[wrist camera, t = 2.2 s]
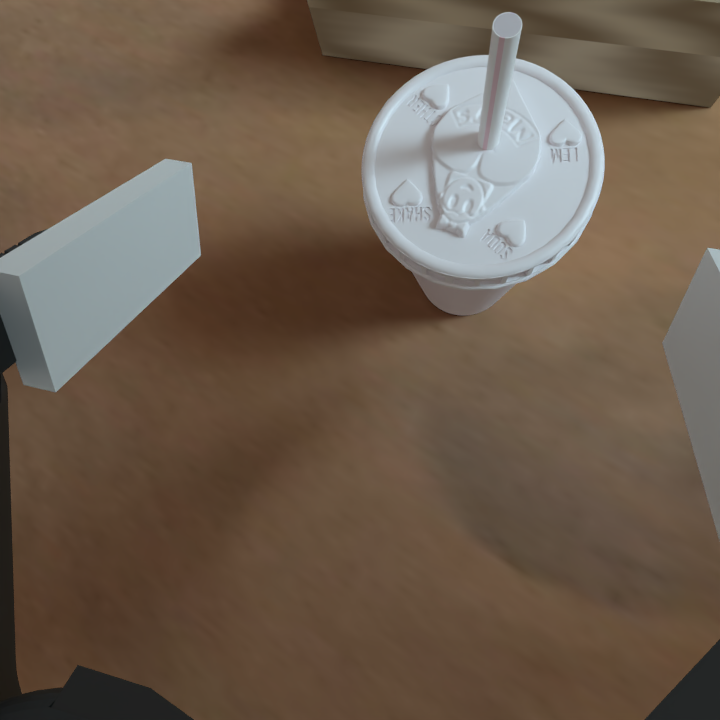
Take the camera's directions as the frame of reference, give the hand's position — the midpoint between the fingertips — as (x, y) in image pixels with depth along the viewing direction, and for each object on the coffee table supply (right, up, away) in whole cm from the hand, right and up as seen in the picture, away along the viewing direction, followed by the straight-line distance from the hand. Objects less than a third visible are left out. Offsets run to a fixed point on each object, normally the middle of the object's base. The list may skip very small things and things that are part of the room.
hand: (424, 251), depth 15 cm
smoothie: (+3, +1, +10) cm, 10 cm away
